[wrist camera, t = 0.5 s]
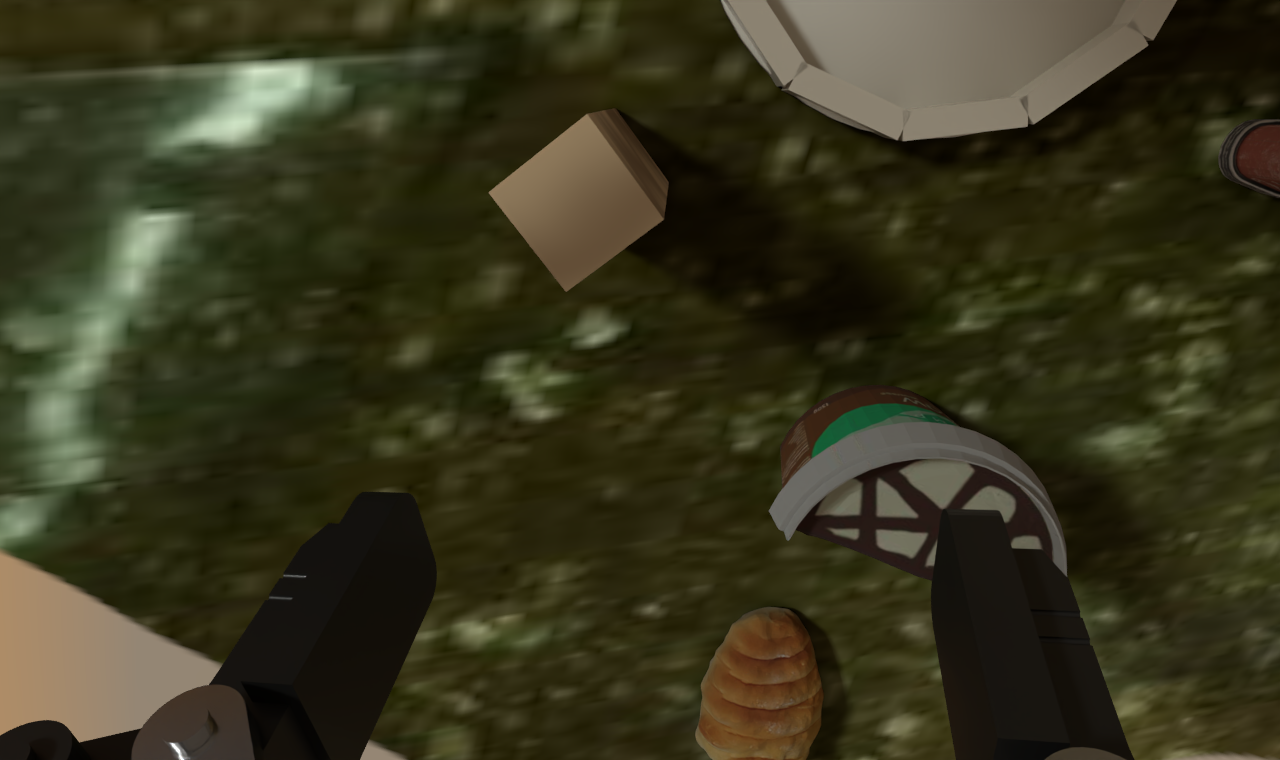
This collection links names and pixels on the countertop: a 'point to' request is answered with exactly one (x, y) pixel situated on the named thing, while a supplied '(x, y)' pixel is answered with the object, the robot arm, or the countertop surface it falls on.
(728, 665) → the pastry
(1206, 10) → the countertop surface
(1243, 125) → the lighter
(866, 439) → the food container
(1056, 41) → the round dish
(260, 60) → the countertop surface
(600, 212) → the oak block
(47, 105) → the countertop surface
